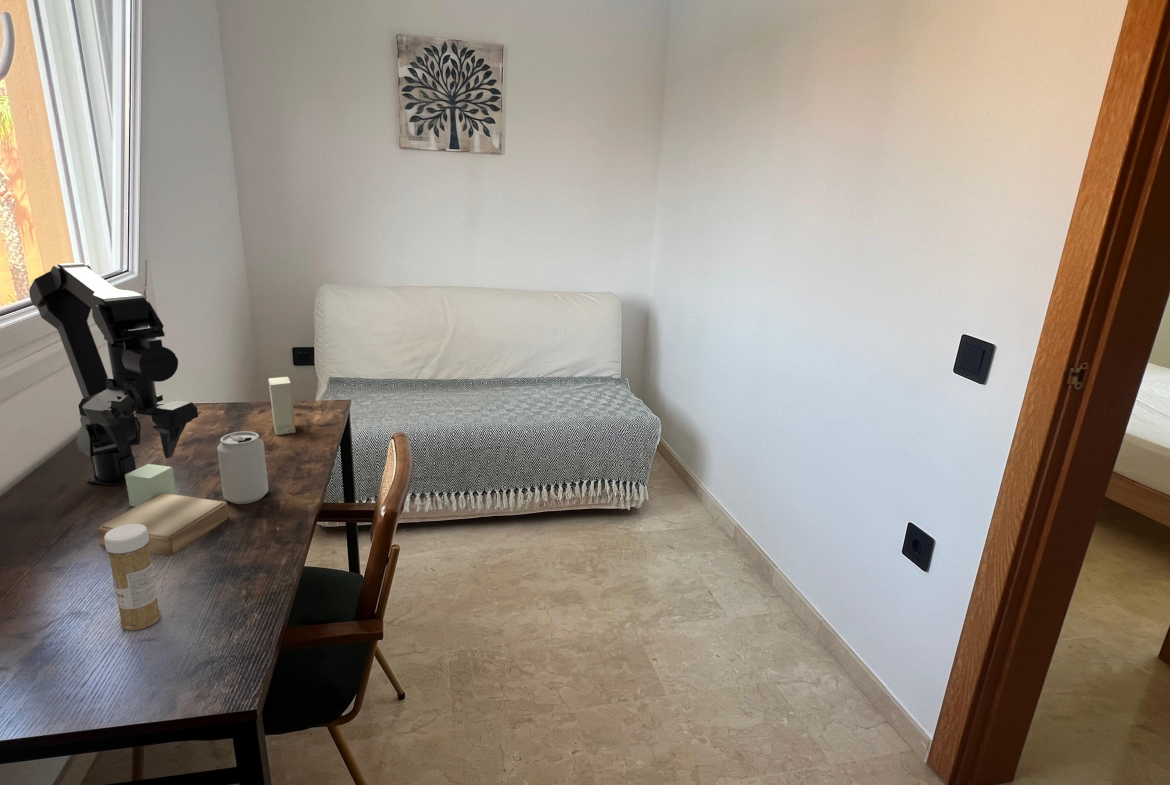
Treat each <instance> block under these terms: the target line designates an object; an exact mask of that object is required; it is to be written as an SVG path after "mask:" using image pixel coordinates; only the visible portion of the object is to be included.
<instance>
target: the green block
mask: <svg viewBox="0 0 1170 785" xmlns="http://www.w3.org/2000/svg"><path fill="white" fill-rule="evenodd" d="M173 470H174V468H173V467H172V466H166V465H159V464H151V463H147V464H145V465H143V466H141V467H139V468H136V470H134V471H132V472H130V473H128V474H126V475H125V478H126V481H125V483H126V489H127V494H128V501H129V506H131V507H136V506H138V505H140V504H142V503H143V502H145V501H147V500H149V499H151V498H153V497H155V496H156V495H158V494H162V493H168V494H175V495H177V489H176V482H175V477H174V471H173Z"/></svg>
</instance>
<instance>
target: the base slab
mask: <svg viewBox="0 0 1170 785" xmlns="http://www.w3.org/2000/svg"><path fill="white" fill-rule="evenodd" d="M228 509H229V508H228V501H222V500H215V499H208V498H202V497H195V496H194V497H193V496H188V495H181V494H176V495H175V494H168V493H162V494H158V495H156V496H155V497H153V498H151V499H149V500H147V501H145V502H143V503H142V504H140V505H138V506H133V507H132V508H130V509H128V510H126V511H125V512H123V513H121V514H119V515H118V516H116V517H114V518H112V519H110V520H108V521H107V522H104V523H103V524H100V525H99V526H98V527H97V528H96V531H97V537H98V542H99V545H102V546H105V541H104V536H105V534H106V533H107V532H109V531H110V530H112V529H114V528H116V527H119V526H122V525H127V524H141V525H144V526H145V527H146V528H147V531H148V536H149V544H148V546H149V552H150V554H157V555H162V556H163V555H164V556H167V557H168V556H169V557H170V556H171V555H173V554H174V555H175V554H177V553H178V552H180V551H181V550H183V549H184V548H185V547H188V545H190V544H191V543H193V542H194V541H196V540H198V539H199V538H200V537H202V536H203V535H205V534H207V533H208V532H210V531H211V530H213V529H214V528H216V527H218V525H221V524H222V523H223V522H225V521H226V520H228V518H229V516H230V515H229V510H228Z"/></svg>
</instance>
